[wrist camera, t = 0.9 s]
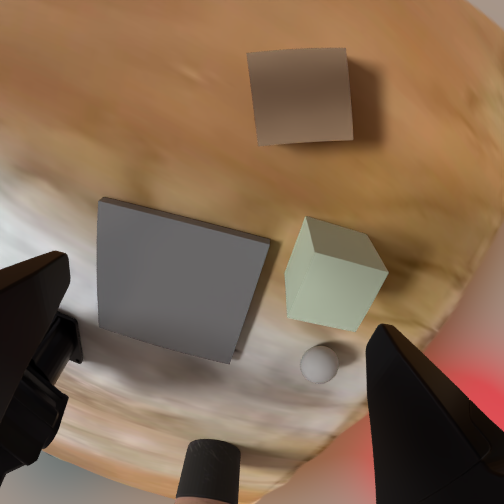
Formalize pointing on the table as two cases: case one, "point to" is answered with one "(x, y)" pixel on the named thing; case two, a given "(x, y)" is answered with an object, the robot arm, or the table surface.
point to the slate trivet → (174, 279)
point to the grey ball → (319, 364)
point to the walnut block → (301, 95)
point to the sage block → (332, 275)
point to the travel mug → (209, 473)
